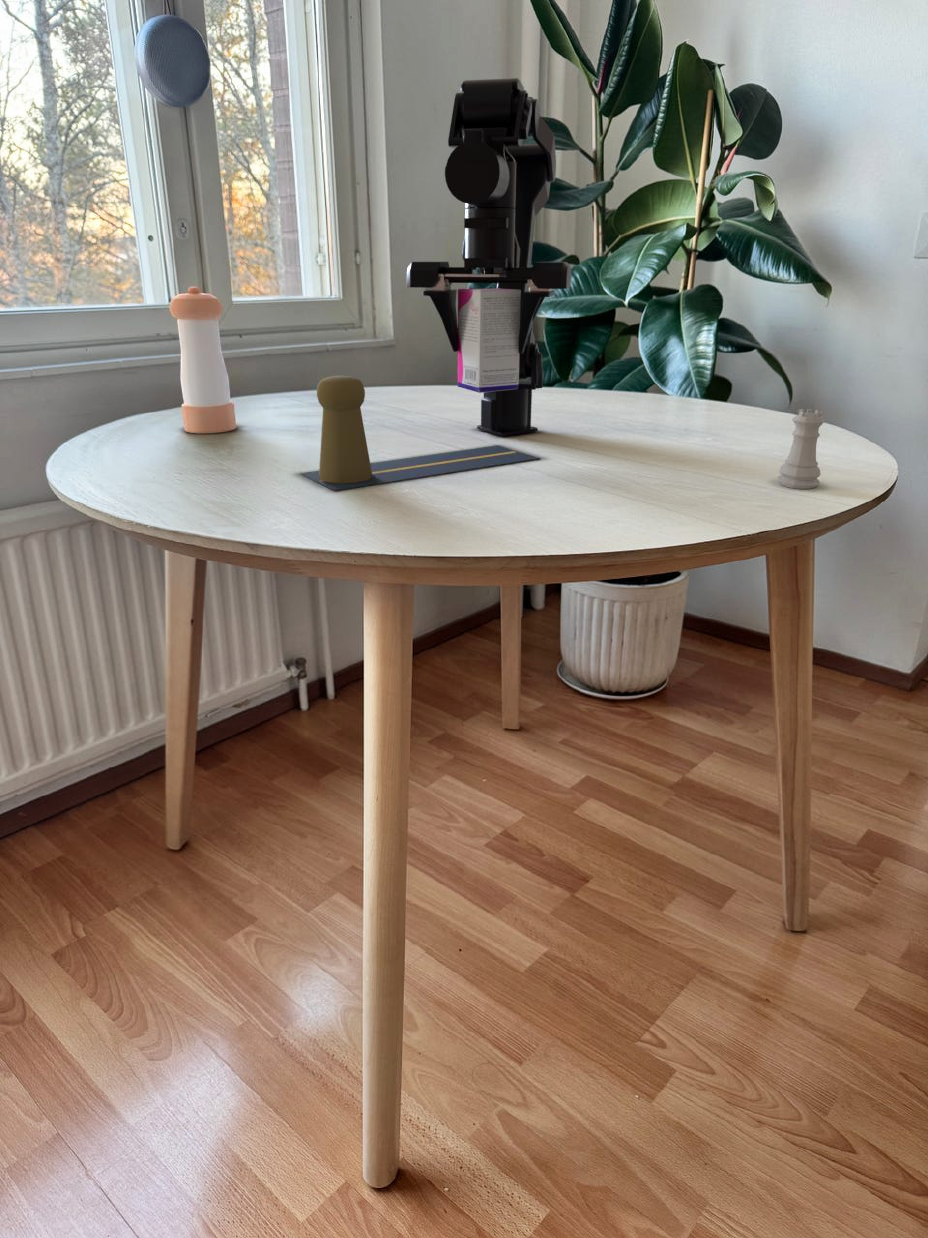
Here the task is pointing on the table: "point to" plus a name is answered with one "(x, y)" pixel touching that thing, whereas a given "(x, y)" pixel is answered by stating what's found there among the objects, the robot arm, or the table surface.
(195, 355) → the salt shaker
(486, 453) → the line mat
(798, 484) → the rook chess piece
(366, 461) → the cork
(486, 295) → the supplement box
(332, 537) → the table surface
